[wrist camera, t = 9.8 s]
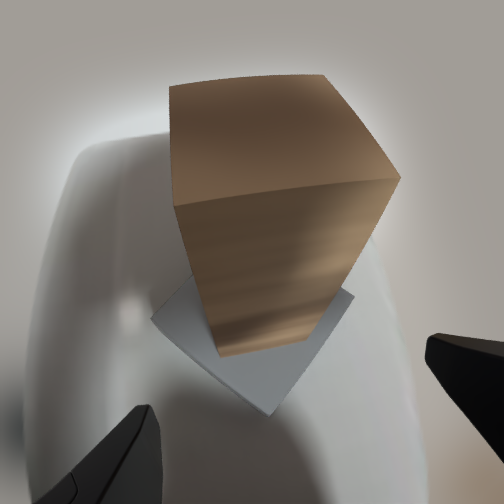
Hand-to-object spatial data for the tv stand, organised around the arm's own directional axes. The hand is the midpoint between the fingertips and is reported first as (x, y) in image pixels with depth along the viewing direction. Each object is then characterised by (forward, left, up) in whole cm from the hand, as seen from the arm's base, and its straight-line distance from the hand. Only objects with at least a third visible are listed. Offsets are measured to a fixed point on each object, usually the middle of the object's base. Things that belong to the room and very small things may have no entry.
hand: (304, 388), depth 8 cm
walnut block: (+4, +4, -8) cm, 10 cm away
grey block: (+4, +4, -11) cm, 12 cm away
